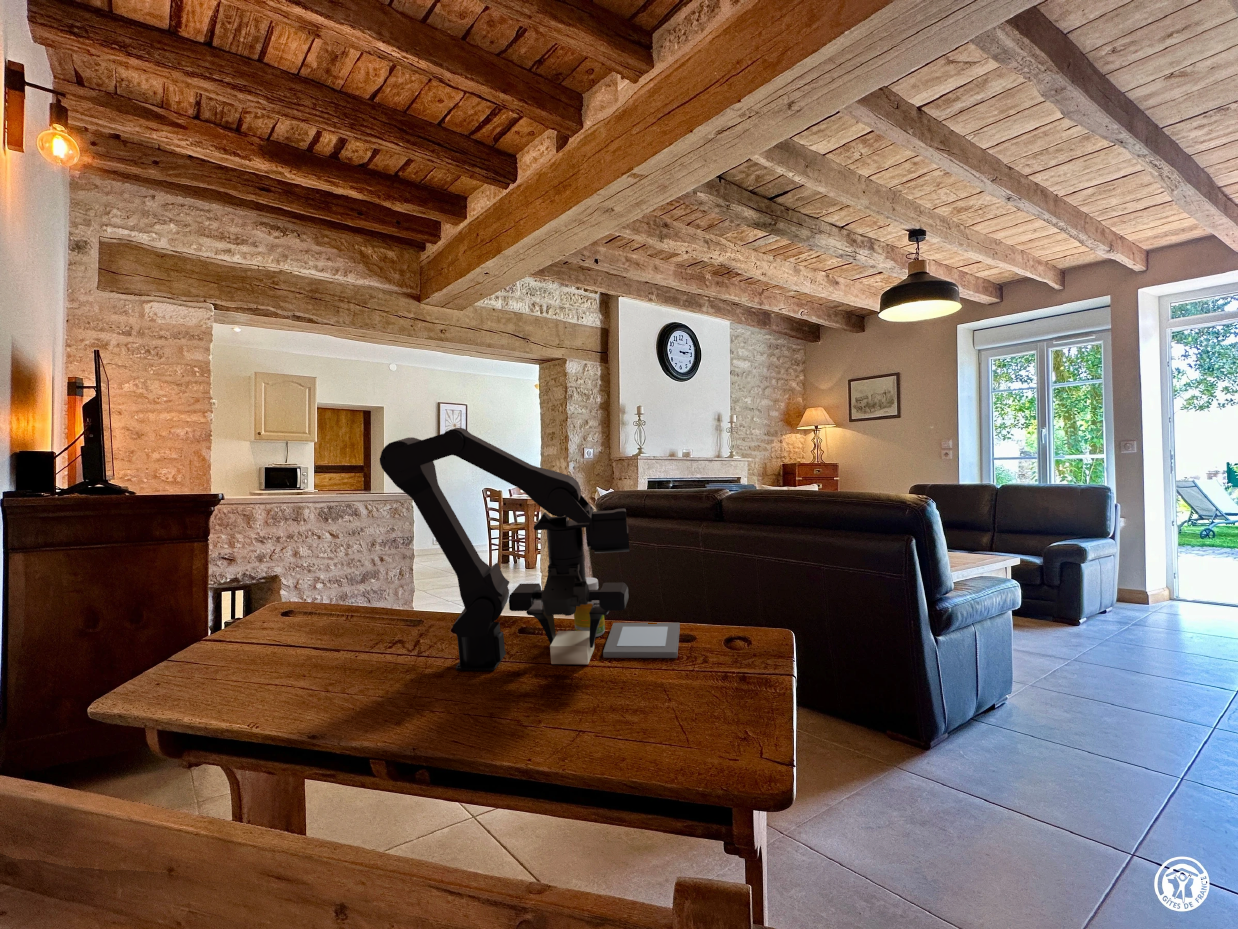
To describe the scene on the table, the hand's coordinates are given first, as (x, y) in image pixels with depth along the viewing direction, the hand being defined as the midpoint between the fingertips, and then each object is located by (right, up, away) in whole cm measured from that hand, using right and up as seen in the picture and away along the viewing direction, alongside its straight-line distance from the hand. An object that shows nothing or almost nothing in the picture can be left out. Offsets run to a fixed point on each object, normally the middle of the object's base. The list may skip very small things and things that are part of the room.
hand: (572, 646), depth 102 cm
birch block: (0, -2, 0) cm, 2 cm away
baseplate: (+12, -1, +5) cm, 13 cm away
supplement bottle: (+2, -1, +10) cm, 10 cm away
